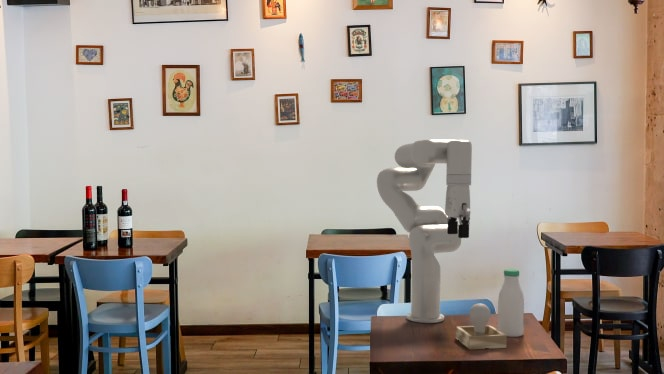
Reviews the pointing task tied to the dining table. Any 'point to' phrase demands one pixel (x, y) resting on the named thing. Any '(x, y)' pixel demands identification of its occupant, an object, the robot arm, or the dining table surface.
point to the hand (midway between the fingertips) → (457, 235)
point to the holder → (481, 337)
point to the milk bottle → (511, 305)
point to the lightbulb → (479, 317)
